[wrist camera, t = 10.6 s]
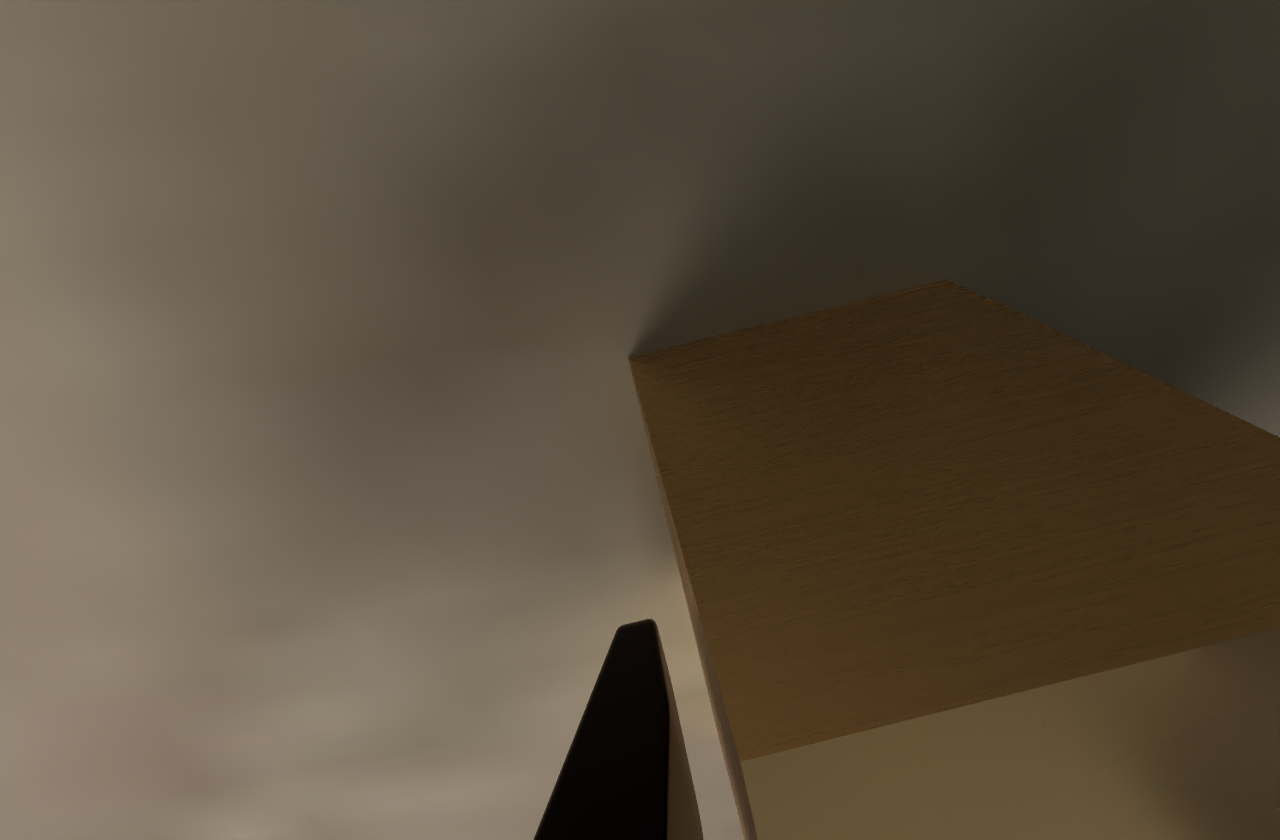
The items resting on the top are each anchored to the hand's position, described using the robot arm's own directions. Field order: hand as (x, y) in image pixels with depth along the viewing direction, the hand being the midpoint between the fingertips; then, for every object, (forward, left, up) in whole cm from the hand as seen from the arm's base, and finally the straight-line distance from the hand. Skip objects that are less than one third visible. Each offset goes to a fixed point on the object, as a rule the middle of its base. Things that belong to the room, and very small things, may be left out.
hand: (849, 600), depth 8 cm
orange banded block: (0, 0, -1) cm, 1 cm away
